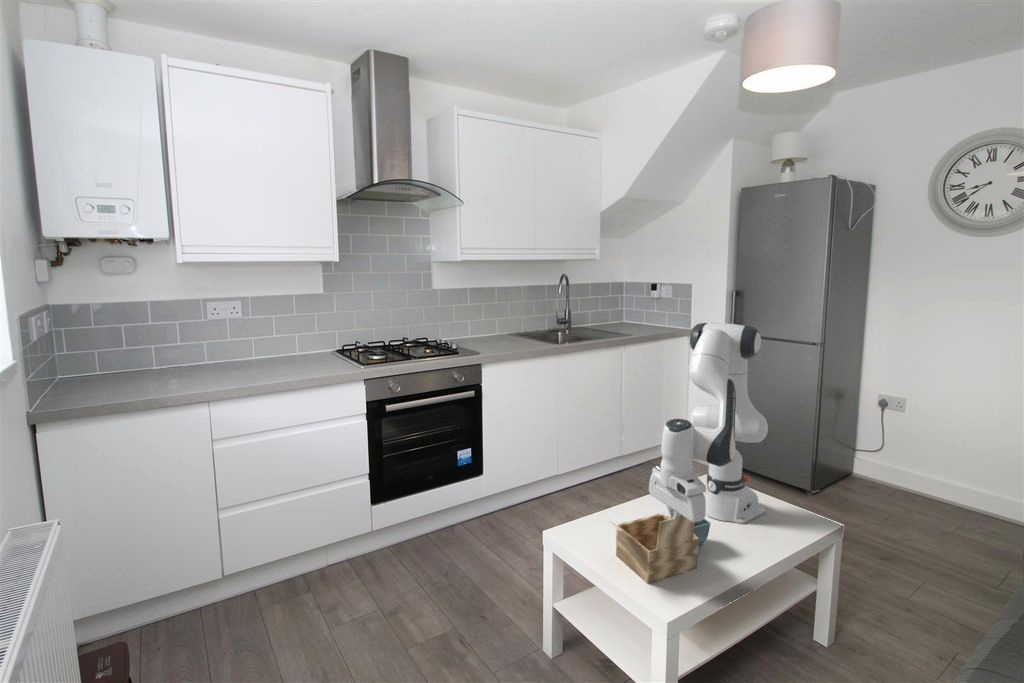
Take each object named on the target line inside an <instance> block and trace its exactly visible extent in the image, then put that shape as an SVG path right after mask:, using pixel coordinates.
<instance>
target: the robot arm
mask: <svg viewBox="0 0 1024 683" xmlns="http://www.w3.org/2000/svg"><path fill="white" fill-rule="evenodd" d="M761 345H762V338H761V333H760V331H759V329H757V328H756V327H755V326H752V325H743V324H737V323H727V322H725V323H718V322H717V323H707V322H702V323H697V324H696V325H694V326H693V328H691V331H690V334H689V346H690V348H691V349H692V350H693V351H692V355H691V358H690V362H689V365H688V366H689V367H688V375H689V378H690V381H692V383H693V384H694V385H695V386H696V387H697V388H699V389H700V390H701V391H702V392H705V393H707V395H708V394H709V395H710V396H712V397H713V398H715V399H716V400H718V401H719V406H717V405H711V404H710V405H709V404H708V405H698V406H696V407H695V408H693V410H692V411H691V413H690V417H689V420H687V419H684V418H672V419H669V420H668V421H666V422H665V424H664V426H663V429H662V430H663V431H662V436H661V445H660V446H661V447H660V448H661V450H660V451H661V452H660V453H661V456H662V457H661V462H660V465H659V466H658V465H656V466H655V465H654V467H653V468H652V471H651V475H650V478H649V483H648V492H649V495H650V496H652V497H653V498H654V499H656V500H658V501H660V502H661V503H663V504H664V505H665V506H667V507H666V509H667V512H668V516H669V517H670V519H671V518H677V517H680V516H681V515H682V516H684V517H685V518H687V519H688V520H690V521H691V522H693V523H696V522H700V521H702V520H703V519H706V516H708V517H710V518H712V519H715V520H719V521H723V522H732V523H737V524H741V525H742V524H745V523H748V522H749V521H751V520H753V519H755V518H757V517H759V516H761V515H762V514H765V513H766V509H765V507H764V506H763V505H762V504H760V503H759V496H758V494H756V492H754V491H753V490H752V489H751V488H749V486H747V485H746V484H745V482H746V483H747V484H749V483H750V482H751V480H752V479H751V477H749V476H747V475H744V476H743V474H742V473H743V456H742V455H741V453H740V452H739V450H737V449H736V442H740V443H747V444H748V443H750V444H751V443H761V442H762V441H763V440H764V439H765V438H766V437H767V434H768V432H769V426H768V422H767V419H766V418H765V417H764V415H762V414H761V413H760V412H759V411H758V410H757V409H756V408H755V406H754V405H753V403H752V402H751V399H750V397H749V393H748V392H749V391H748V368H749V366H748V364H749V363H748V360H749V358H750V359H752V358H754V357H755V356H756V355H757V354H758V352H759V350H760V349H761ZM693 460H695V461H699V462H700V461H701V462H704V463H707V464H708V472H707V475H706V484H705V483H703V481H702V480H701V479H700V478H699V477H698V476H697V475H696V473H695V472H694V464H693ZM704 493H705V494H704Z"/></svg>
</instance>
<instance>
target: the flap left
mask: <svg viewBox="0 0 1024 683" xmlns="http://www.w3.org/2000/svg"><path fill="white" fill-rule="evenodd" d="M694 528H695V523H693V522H691V521H690V520H688V519H687V518H685V517H684V516H680V517H677V518H671V519H668V520H664V521H660V522H659V530H658V538H657V547H656V549H657V550H659V549H662V548H665V547H669V546H672V545H676V544H679V543H683V542H686V541H690V540H693V535H694Z"/></svg>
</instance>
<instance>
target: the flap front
mask: <svg viewBox="0 0 1024 683" xmlns="http://www.w3.org/2000/svg"><path fill="white" fill-rule="evenodd" d="M604 519H605V520H606V521H607V522H608V523H610V525H612V526H613V527H615V528H616V529H618V530H620V531H621V532H622V533H624V534H625V535H626V536H628V537H629V538H630V539H632V540H633V541H634V542H636V543H637V544H638V545H640V543H638V542H637V541H636V540H635V539H633V538H632V537H631V536H630V535H628V534H627V533H626V532H625V531H623V530H622V529H621V528H619V527H618V524H617V525H616V524H615V523H614V522H612V520H610V519H608V518H607V517H605V518H604Z"/></svg>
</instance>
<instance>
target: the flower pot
mask: <svg viewBox="0 0 1024 683" xmlns="http://www.w3.org/2000/svg"><path fill="white" fill-rule="evenodd" d="M681 516H682V515H681ZM710 527H711V522H710V521H709V520H707V519H706V518H704V519H703V520H702V521H700V522H696V523H695V528H694V534H696V536H697V537H698V548H700V547H702V546H703V545H704V544H705V543H706V541H707V539H708V536H709V533H710Z"/></svg>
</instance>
